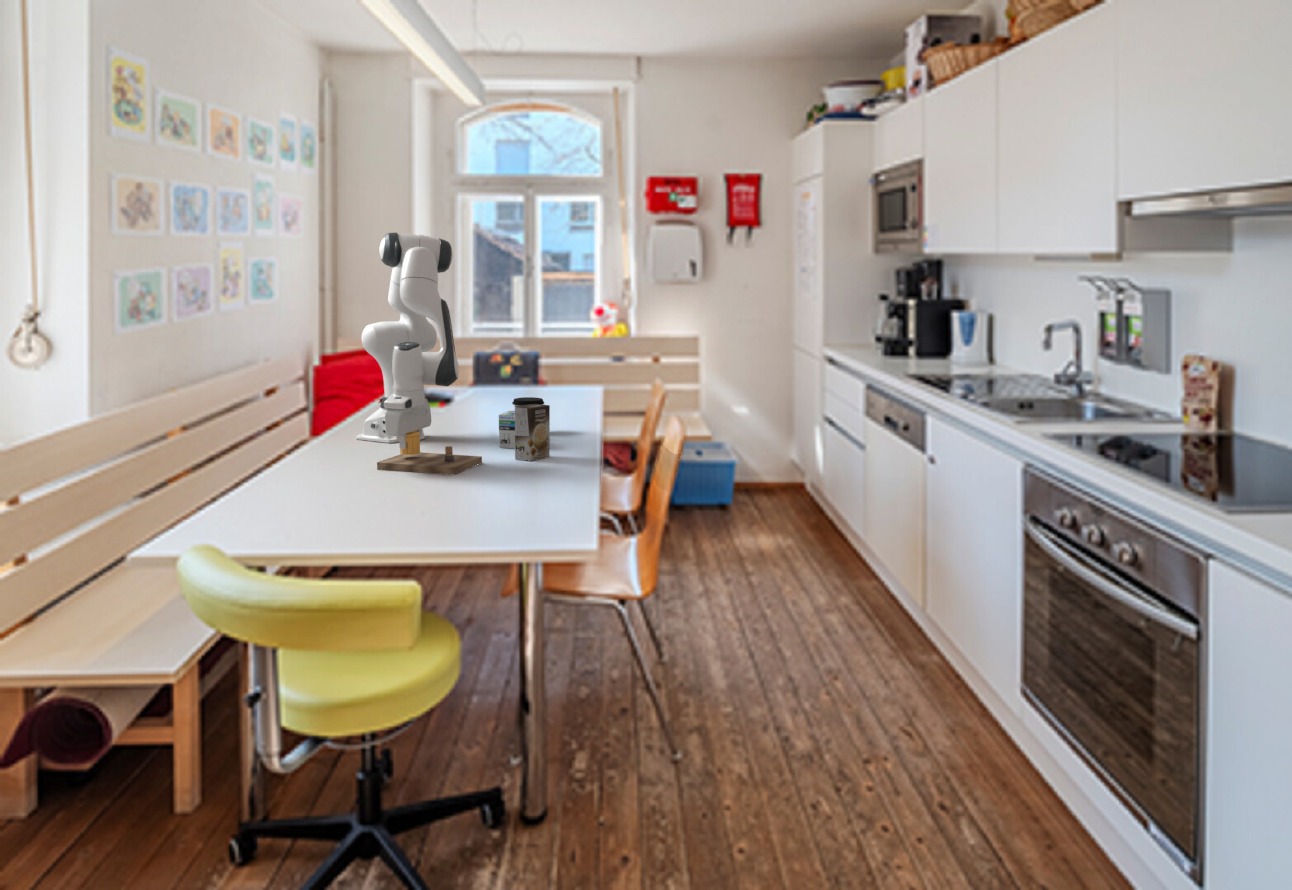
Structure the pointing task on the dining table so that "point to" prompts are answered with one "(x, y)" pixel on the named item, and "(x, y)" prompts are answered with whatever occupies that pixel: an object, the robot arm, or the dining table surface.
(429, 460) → the wooden peg board
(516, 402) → the coffee cup
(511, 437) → the light bulb box
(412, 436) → the wire cap
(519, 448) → the coffee box
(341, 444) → the dining table surface
